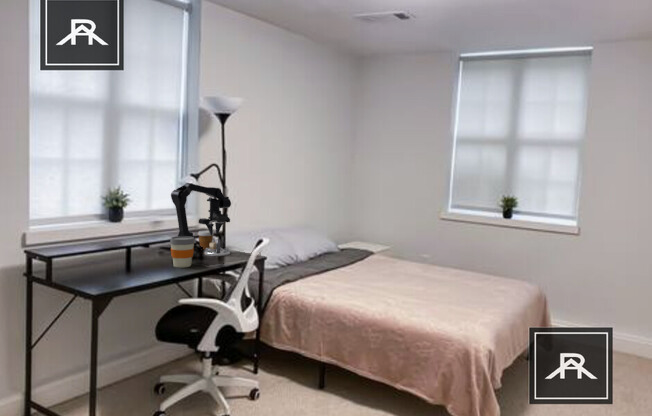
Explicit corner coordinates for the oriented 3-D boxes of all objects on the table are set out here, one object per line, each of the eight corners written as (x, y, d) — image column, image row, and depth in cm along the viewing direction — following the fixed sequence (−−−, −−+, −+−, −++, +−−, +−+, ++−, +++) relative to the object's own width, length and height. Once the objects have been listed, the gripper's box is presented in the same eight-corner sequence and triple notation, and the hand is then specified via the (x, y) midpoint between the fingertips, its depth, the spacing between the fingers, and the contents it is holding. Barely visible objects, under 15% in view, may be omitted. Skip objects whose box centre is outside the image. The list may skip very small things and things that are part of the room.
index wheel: (214, 257, 301) (214, 240, 300) (199, 253, 311) (199, 237, 310) (234, 254, 312) (235, 238, 311) (220, 250, 322) (220, 235, 321)
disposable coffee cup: (194, 251, 324) (194, 231, 323) (204, 248, 333) (204, 229, 332) (207, 252, 320) (207, 233, 319) (216, 250, 329) (216, 231, 328)
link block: (213, 250, 311) (213, 243, 311) (209, 249, 314) (209, 242, 314) (219, 249, 314) (219, 243, 314) (215, 248, 317) (215, 242, 316)
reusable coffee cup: (164, 266, 280) (164, 238, 278) (181, 262, 291) (181, 235, 289) (182, 269, 274) (183, 240, 272) (199, 265, 285) (199, 237, 283)
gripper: (209, 210, 299) (208, 238, 301) (235, 209, 313) (235, 235, 314) (198, 209, 307) (197, 235, 309) (224, 207, 321) (224, 232, 322)
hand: (214, 234), depth 313 cm, fingers open, 4 cm apart
